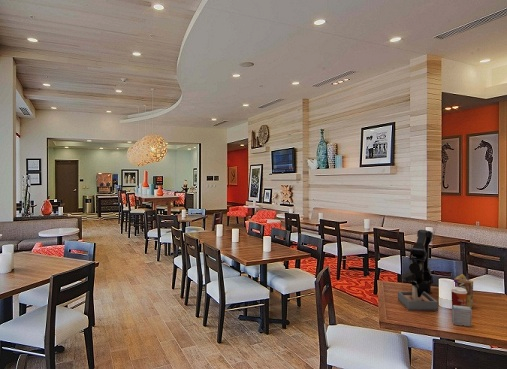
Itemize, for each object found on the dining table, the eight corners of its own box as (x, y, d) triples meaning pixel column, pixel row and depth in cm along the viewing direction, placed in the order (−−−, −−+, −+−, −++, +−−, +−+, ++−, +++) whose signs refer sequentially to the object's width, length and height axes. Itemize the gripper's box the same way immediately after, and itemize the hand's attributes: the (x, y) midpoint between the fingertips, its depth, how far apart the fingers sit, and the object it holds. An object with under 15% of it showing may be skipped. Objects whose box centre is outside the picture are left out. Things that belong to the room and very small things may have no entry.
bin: (424, 299, 208) (425, 291, 208) (437, 310, 192) (438, 302, 192) (397, 299, 209) (397, 291, 209) (408, 310, 193) (408, 301, 193)
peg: (418, 300, 202) (419, 285, 202) (421, 303, 198) (422, 287, 198) (411, 300, 203) (412, 285, 202) (414, 303, 199) (415, 287, 198)
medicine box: (469, 323, 177) (469, 306, 176) (471, 327, 173) (471, 310, 172) (451, 321, 179) (452, 304, 179) (453, 324, 175) (453, 308, 175)
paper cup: (461, 318, 183) (461, 292, 182) (447, 313, 189) (447, 287, 189) (469, 315, 186) (470, 289, 186) (455, 310, 193) (456, 285, 192)
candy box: (473, 307, 197) (473, 280, 197) (470, 309, 195) (470, 282, 194) (456, 302, 204) (456, 277, 204) (453, 304, 202) (453, 278, 201)
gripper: (397, 264, 209) (397, 289, 210) (410, 273, 191) (409, 301, 191) (416, 264, 209) (415, 290, 209) (430, 274, 190) (430, 302, 191)
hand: (417, 295), depth 200 cm, fingers open, 4 cm apart
